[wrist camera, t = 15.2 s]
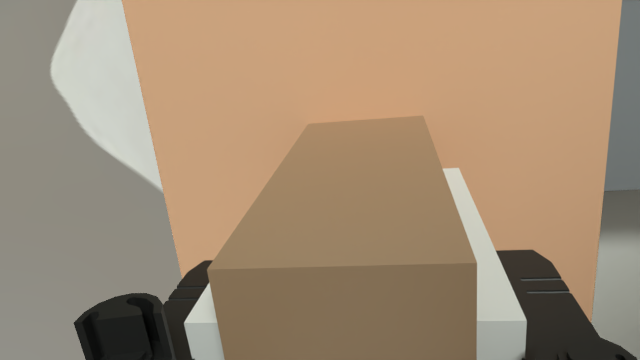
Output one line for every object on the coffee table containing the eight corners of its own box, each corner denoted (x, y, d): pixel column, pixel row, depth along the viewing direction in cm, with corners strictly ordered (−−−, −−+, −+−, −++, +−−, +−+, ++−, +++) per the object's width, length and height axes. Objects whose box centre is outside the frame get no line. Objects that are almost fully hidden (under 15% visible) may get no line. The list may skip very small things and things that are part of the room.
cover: (604, -66, 13) (1197, -281, 4) (570, 346, 18) (795, 753, 8) (143, -10, 16) (-270, -48, 6) (215, 346, 20) (51, 666, 10)
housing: (738, -91, 31) (841, -118, 24) (696, 156, 37) (769, 192, 30) (514, -63, 33) (548, -81, 26) (507, 167, 39) (533, 203, 32)
